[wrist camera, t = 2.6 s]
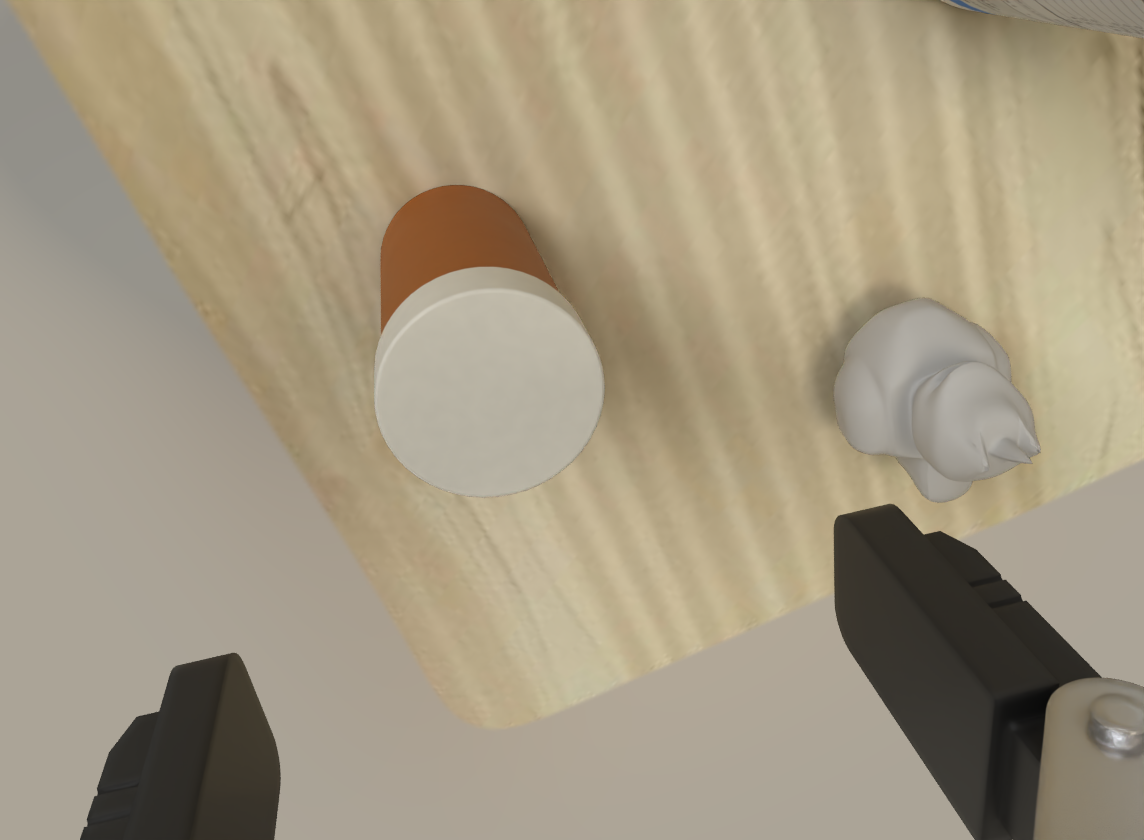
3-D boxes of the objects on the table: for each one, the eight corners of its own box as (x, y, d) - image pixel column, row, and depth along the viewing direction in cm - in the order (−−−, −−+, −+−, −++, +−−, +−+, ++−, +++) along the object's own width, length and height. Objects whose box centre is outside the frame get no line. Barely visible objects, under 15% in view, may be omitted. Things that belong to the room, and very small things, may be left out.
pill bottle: (355, 309, 28) (345, 469, 19) (403, 155, 26) (415, 256, 17) (505, 354, 29) (556, 520, 21) (560, 211, 27) (640, 329, 19)
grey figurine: (957, 256, 30) (1131, 351, 23) (969, 426, 34) (1126, 555, 26) (799, 308, 30) (927, 420, 23) (826, 475, 33) (946, 617, 26)
